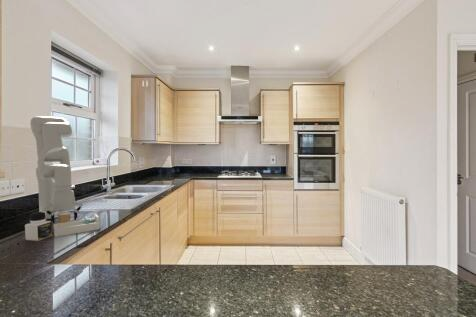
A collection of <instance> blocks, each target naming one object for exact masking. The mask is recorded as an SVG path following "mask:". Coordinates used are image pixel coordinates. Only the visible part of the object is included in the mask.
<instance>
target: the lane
mask: <svg viewBox="0 0 476 317" xmlns="http://www.w3.org/2000/svg"><path fill="white" fill-rule="evenodd" d="M93 219H95V222H94V223H88V224H85V220H84V219H79V220H72V221H71V222H64V223H53V234H54V237H61V236H67V235H73V234H74V235H75V234H79V233H85V232H92V231H97V230H100V229H101V227H100V216H99V215H98V214H97V213H94V214H93V217H92V218H89V220H93Z"/></svg>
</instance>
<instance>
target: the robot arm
mask: <svg viewBox="0 0 476 317" xmlns="http://www.w3.org/2000/svg"><path fill="white" fill-rule="evenodd" d="M30 129H31V132H32V133H33V134H32V135H33V136H34V138H35V142H36V153H37V154H36V155H37V163H36V164H37V167H36V168H35V175H36V180H37V185H38V206H39V207H38V208H39V211H43V212H46V220H49V219H50V221H51V223H52V224H56V223H55V219H56V218H58V212H62V211H71V210H72V211H74V212H73V219H74V220H73V221H77V219H78V212H79V211H80V210H82V208H83V205H84V203H82V202H80V201H77V200H76V197H75V192H74V190H73V189H75V188H76V186H75V185H72V167H71V161H70V153H69V149H68V148H67V147H65V146H64V145H63V138H70V137H71V136H72V135H73V128H72V126H71V124H70V122H69V121H67V119H65V118H64V117H57V116H56V117H55V116H46V115H45V116H44V115H43V116H42V115H41V116H40V115H39V116H38V115H37V116H34V117H32V118H31V119H30ZM46 163H49V164H46ZM51 163H52V164H51ZM76 205H78V207H77V208H76ZM39 211H38V212H39Z"/></svg>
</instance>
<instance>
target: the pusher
mask: <svg viewBox="0 0 476 317" xmlns="http://www.w3.org/2000/svg"><path fill="white" fill-rule="evenodd" d="M89 219H90V218H89V217H88V216H84V219H83V220H85V224H88V223H94V222H95V219H93V220H89Z"/></svg>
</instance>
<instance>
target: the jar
mask: <svg viewBox="0 0 476 317" xmlns="http://www.w3.org/2000/svg"><path fill="white" fill-rule="evenodd" d="M57 219H58V223H64V222H71V210H66V211H59V212H58V217H57Z"/></svg>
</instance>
